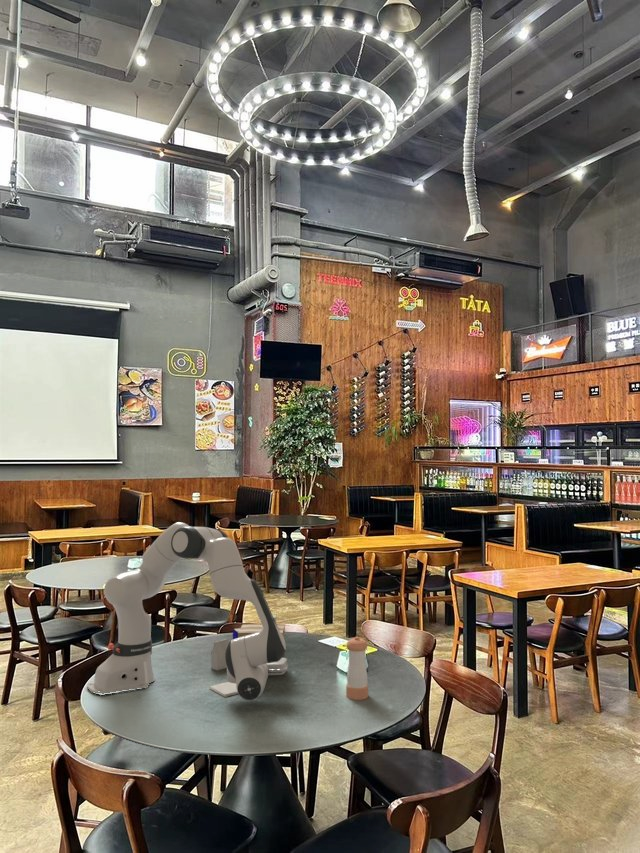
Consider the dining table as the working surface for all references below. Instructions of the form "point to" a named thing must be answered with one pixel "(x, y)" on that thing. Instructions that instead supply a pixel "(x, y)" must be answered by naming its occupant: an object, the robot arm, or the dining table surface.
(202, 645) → the dining table surface
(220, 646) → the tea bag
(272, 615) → the sage block
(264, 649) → the robot arm
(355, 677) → the pepper shaker
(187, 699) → the dining table surface
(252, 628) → the box
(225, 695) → the ceramic tile
